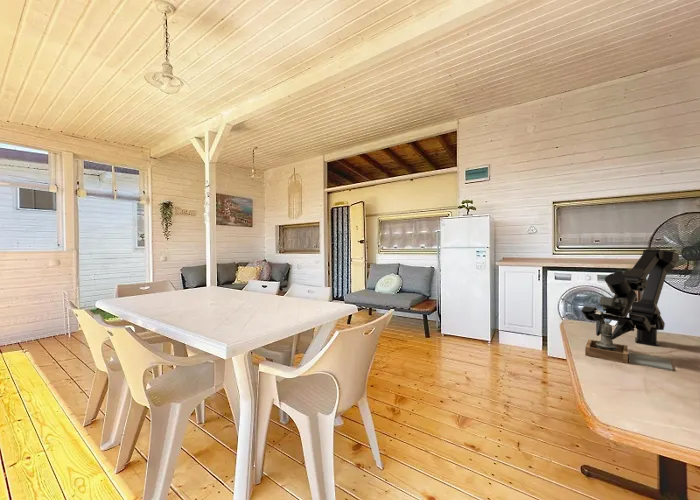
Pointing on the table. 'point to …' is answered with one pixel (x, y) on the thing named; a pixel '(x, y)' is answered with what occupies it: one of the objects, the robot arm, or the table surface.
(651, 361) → the grey rubber mat
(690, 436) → the table surface
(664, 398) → the table surface
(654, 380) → the table surface
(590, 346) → the walnut holder
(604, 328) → the grey tall flared piece
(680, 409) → the table surface
